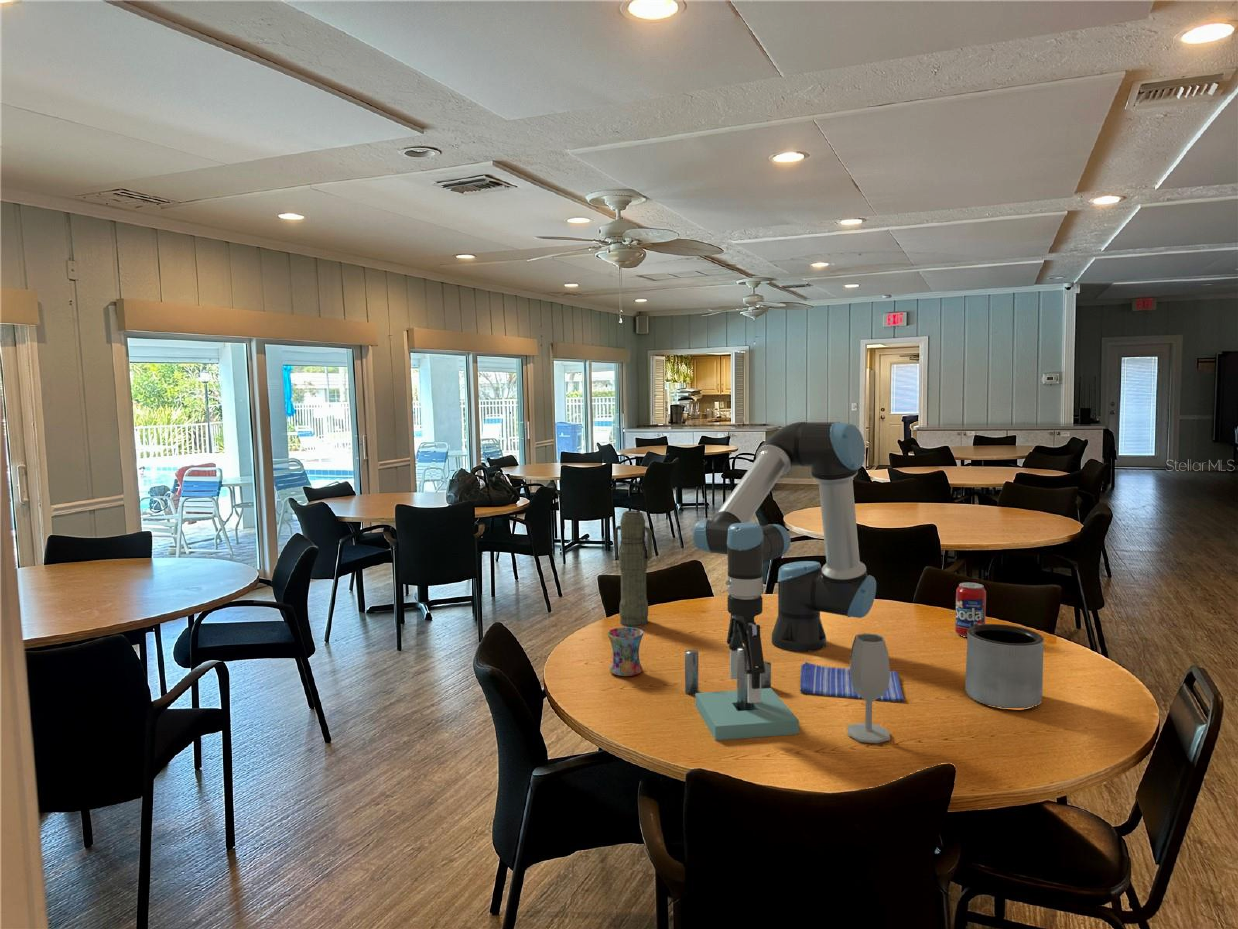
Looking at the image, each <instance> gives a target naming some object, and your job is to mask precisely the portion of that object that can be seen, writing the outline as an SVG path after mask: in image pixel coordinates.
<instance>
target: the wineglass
mask: <svg viewBox="0 0 1238 929" xmlns="http://www.w3.org/2000/svg"><path fill="white" fill-rule="evenodd" d="M849 656H850V657H849V669H850V677H851V681H852V686H853V690H854V691H855V692H856V693H857V694H858V695H859V696H861V697H862V698H863V699H862V700H864V701H865V712H864V713H865V715H864V716H865V719H864V721H865V722H858V723H853V724H849V725H847V734H848V736H849V737H850V738H852V739H853V740H855V741H857V742H859V743H868V744H881V743H885V742H888V741H889V742H890V740H891V737H890V731H889V729H887V728H885V727H883V726H882V725H879V724H877V723H873V702H875V701H877V700H876V699H878V698H879V697H881V696H882V695H884V694H885V693H886V691H887V688H888V685H889V682H890V671H891V665H890V657H889V651H888V647H887V644H886V640H885V637H884V636H882V635H879V634H877V633H867V632H864V633H859V634H855V637H854V639H853V641H852V645H851V651H850V655H849Z"/></svg>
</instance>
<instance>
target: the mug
mask: <svg viewBox="0 0 1238 929" xmlns="http://www.w3.org/2000/svg"><path fill="white" fill-rule="evenodd" d="M644 633H645V632H644V630H643V629H640V628H639V627H629V626H622V627H615V628H611V629H609V630H608V631H607V636H608V638H609V641H610V643H611V648H612V661H611V665H610V667H609V671H610V673H612V674H613V675H615V676H618V677H619V676H620V677H632V676H637V675H639V674H640V673H642V671H643V666H642V663H641V661H640V660H641V659H640V646H641V641H642V638H643V636H644Z"/></svg>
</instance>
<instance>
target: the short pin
mask: <svg viewBox="0 0 1238 929" xmlns="http://www.w3.org/2000/svg"><path fill="white" fill-rule="evenodd" d="M764 667H765V673H761V689H765V688H771V689H772V663H771V662H769V661H764Z"/></svg>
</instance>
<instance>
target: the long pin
mask: <svg viewBox="0 0 1238 929" xmlns="http://www.w3.org/2000/svg"><path fill="white" fill-rule="evenodd" d="M747 670H749V667H748V662H747V657H746V652H745V646H744V645H743V646H741V647H738V648H737V679H736V685H737V686H736V690H737V711H746V710H752V703H748V674H746V671H747Z"/></svg>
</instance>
